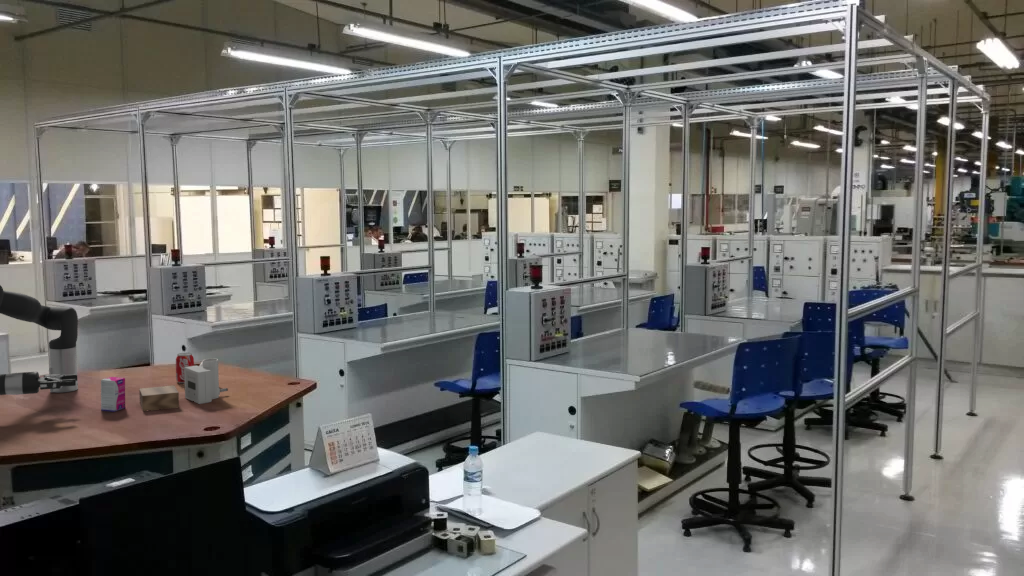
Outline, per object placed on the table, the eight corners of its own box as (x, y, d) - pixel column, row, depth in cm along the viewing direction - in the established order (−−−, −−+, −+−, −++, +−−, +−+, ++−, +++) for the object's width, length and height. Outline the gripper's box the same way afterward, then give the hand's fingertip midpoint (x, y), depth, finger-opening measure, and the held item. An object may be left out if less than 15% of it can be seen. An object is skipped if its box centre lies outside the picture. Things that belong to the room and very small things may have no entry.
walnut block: (142, 412, 270) (142, 395, 270) (139, 404, 281) (139, 388, 280) (178, 408, 277) (178, 392, 276) (174, 400, 287) (174, 385, 286)
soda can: (197, 381, 317) (197, 353, 315) (182, 384, 311) (182, 356, 309) (187, 379, 320) (187, 351, 319) (172, 382, 314) (171, 354, 313)
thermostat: (184, 398, 290) (184, 359, 288) (220, 392, 300) (219, 355, 299) (199, 404, 282) (198, 365, 280) (234, 397, 292) (234, 360, 291)
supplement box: (115, 412, 268) (113, 380, 267) (100, 411, 270) (99, 379, 268) (126, 408, 274) (125, 377, 273) (112, 406, 275) (111, 376, 274)
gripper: (19, 376, 251) (74, 373, 259) (24, 368, 264) (77, 365, 271) (19, 398, 252) (75, 394, 259) (25, 389, 265) (78, 386, 272)
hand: (76, 379), depth 265 cm, fingers open, 8 cm apart
